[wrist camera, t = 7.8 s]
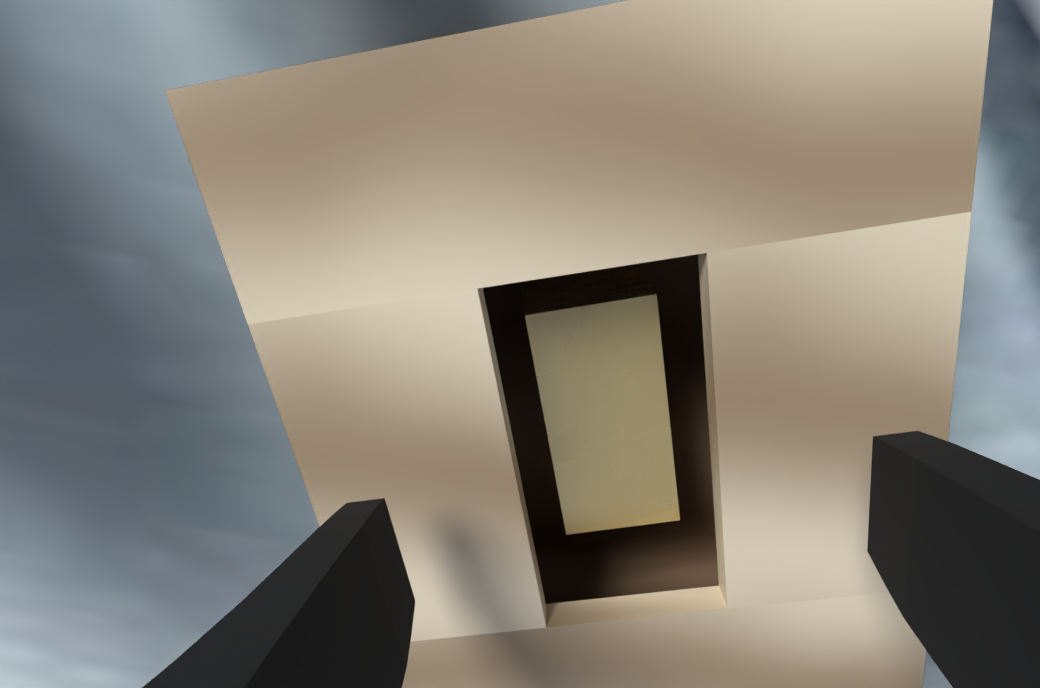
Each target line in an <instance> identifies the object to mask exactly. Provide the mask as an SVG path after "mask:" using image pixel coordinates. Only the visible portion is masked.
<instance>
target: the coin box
mask: <svg viewBox="0 0 1040 688" xmlns="http://www.w3.org/2000/svg"><path fill="white" fill-rule="evenodd" d="M992 6H993V0H627V1H622V2H617V3H612V4H607V5H601V6H596V7H591V8H586V9H581V10H576V11H571V12H566V13H560V14H555V15H550V16H545V17H540V18H535V19H530V20H525V21H519V22H514V23H509V24H504V25H499V26H494V27H489V28H484V29H478V30H473V31H468V32H463V33H458V34H453V35H448V36H442V37H437V38H432V39H427V40H422V41H417V42H412V43H407V44H401V45H396V46H391V47H386V48H381V49H376V50H371V51H366V52H360V53H355V54H350V55H345V56H340V57H335V58H330V59H325V60H319V61H314V62H309V63H304V64H299V65H294V66H289V67H284V68H278V69H273V70H268V71H263V72H258V73H253V74H248V75H243V76H237V77H232V78H227V79H222V80H217V81H212V82H207V83H202V84H196V85H191V86H186V87H181V88H176V89H171V90H166V91H165V93H166V95H167V98H168V101H169V104H170V107H171V109H172V112H173V115H174V118H175V121H176V124H177V126H178V129H179V132H180V135H181V138H182V140H183V143H184V146H185V149H186V152H187V155H188V157H189V160H190V163H191V166H192V169H193V171H194V174H195V177H196V180H197V183H198V186H199V188H200V191H201V194H202V197H203V200H204V202H205V205H206V208H207V211H208V214H209V216H210V219H211V222H212V225H213V228H214V231H215V233H216V236H217V239H218V242H219V245H220V247H221V250H222V253H223V256H224V259H225V262H226V264H227V267H228V270H229V273H230V276H231V278H232V281H233V284H234V287H235V290H236V293H237V295H238V298H239V301H240V304H241V307H242V309H243V312H244V315H245V318H246V321H247V324H248V326H249V329H250V332H251V335H252V338H253V340H254V343H255V346H256V349H257V352H258V354H259V357H260V360H261V363H262V366H263V369H264V371H265V374H266V377H267V380H268V383H269V385H270V388H271V391H272V394H273V397H274V400H275V402H276V405H277V408H278V411H279V414H280V416H281V419H282V422H283V425H284V428H285V431H286V433H287V436H288V439H289V442H290V445H291V447H292V450H293V453H294V456H295V459H296V461H297V464H298V467H299V470H300V473H301V476H302V478H303V481H304V484H305V487H306V490H307V492H308V495H309V498H310V501H311V504H312V507H313V509H314V512H315V515H316V518H317V521H318V523H319V526H321V525H322V524H323V523H324V522H325V521H327V520H328V519H329V518H330V517H331V516H332V515H333V514H334V513H335V512H336V511H338V510H339V509H340V508H341V507H342V506H343V505H345V504H346V503H349V502H357V501H365V500H373V499H381V498H385V501H386V504H387V508H388V511H389V514H390V518H391V521H392V524H393V528H394V531H395V534H396V538H397V541H398V544H399V548H400V551H401V554H402V558H403V561H404V564H405V568H406V571H407V574H408V578H409V581H410V584H411V588H412V591H413V595H414V598H415V609H414V617H413V626H412V634H411V641H410V648H409V655H408V662H407V668H406V672H405V676H404V681H403V685H402V688H923V679H924V670H925V660H926V649H925V648H924V646H923V645H922V643H921V642H920V641H919V639H918V638H917V636H916V635H915V634H914V632H913V631H912V629H911V628H910V626H909V625H908V623H907V622H906V621H905V619H904V618H903V616H902V614H901V612H900V611H899V609H898V607H897V605H896V604H895V602H894V600H893V598H892V597H891V595H890V593H889V591H888V589H887V588H886V586H885V584H884V582H883V580H882V578H881V576H880V574H879V573H878V571H877V569H876V567H875V565H874V563H873V561H872V559H871V557H870V555H869V554H868V552H867V546H868V526H869V505H870V485H871V464H872V443H873V436H880V435H888V434H895V433H903V432H911V431H920V432H923V433H926V434H929V435H932V436H935V437H937V438H940V439H943V440H945V441H948V435H949V426H950V416H951V406H952V396H953V386H954V377H955V367H956V357H957V347H958V338H959V328H960V318H961V308H962V299H963V289H964V279H965V269H966V260H967V250H968V240H969V230H970V220H971V211H972V201H973V191H974V181H975V172H976V162H977V152H978V142H979V133H980V123H981V113H982V103H983V93H984V84H985V74H986V64H987V54H988V45H989V35H990V25H991V15H992ZM632 264H639V266H640V267H641V269H642V271H643V272H644V274H645V276H646V277H647V279H648V281H649V282H650V284H651V286H652V287H653V289H654V291H655V292H656V294H657V302H658V312H659V322H660V331H661V341H662V351H663V360H664V370H665V380H666V389H667V399H668V409H669V418H670V428H671V438H672V447H673V457H674V467H675V476H676V486H677V496H678V505H679V515H680V520H678V521H670V522H663V523H655V524H647V525H639V526H631V527H623V528H615V529H607V530H600V531H592V532H584V533H576V534H568V535H566V531H565V525H564V520H563V515H562V510H561V504H560V499H559V494H558V488H557V483H556V478H555V473H554V467H553V462H552V457H551V451H550V446H549V441H548V435H547V430H546V425H545V420H544V414H543V409H542V404H541V398H540V393H539V388H538V383H537V377H536V372H535V367H534V361H533V356H532V351H531V346H530V340H529V335H528V330H527V324H526V319H525V306H526V291H527V281H529V280H536V279H542V278H549V277H555V276H561V275H568V274H574V273H581V272H587V271H594V270H600V269H606V268H613V267H619V266H626V265H632Z"/></svg>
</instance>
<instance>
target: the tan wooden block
mask: <svg viewBox="0 0 1040 688" xmlns="http://www.w3.org/2000/svg"><path fill="white" fill-rule="evenodd" d="M525 319H526V324H527V330H528V335H529V340H530V346H531V351H532V356H533V361H534V367H535V372H536V377H537V383H538V388H539V393H540V398H541V404H542V409H543V414H544V420H545V425H546V430H547V435H548V441H549V446H550V451H551V457H552V462H553V467H554V473H555V478H556V483H557V488H558V494H559V499H560V504H561V510H562V515H563V520H564V525H565V531H566V535H568V534H576V533H584V532H592V531H600V530H607V529H615V528H623V527H631V526H639V525H647V524H655V523H663V522H670V521H678V520H680V515H679V505H678V496H677V486H676V476H675V467H674V457H673V447H672V438H671V428H670V418H669V409H668V399H667V389H666V380H665V370H664V360H663V351H662V341H661V331H660V322H659V312H658V302H657V294H656V292H655V291H654V289H653V287H652V286H651V284H650V282H649V281H648V279H647V277H646V276H645V274H644V272H643V271H642V269H641V267H640V266H639V264H632V265H626V266H619V267H613V268H606V269H600V270H594V271H587V272H581V273H574V274H568V275H561V276H555V277H549V278H542V279H536V280H529V281H527V291H526V306H525Z"/></svg>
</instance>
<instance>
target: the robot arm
mask: <svg viewBox="0 0 1040 688" xmlns="http://www.w3.org/2000/svg"><path fill="white" fill-rule="evenodd" d="M867 552H868V554H869V555H870V557H871V559H872V561H873V563H874V565H875V567H876V569H877V571H878V573H879V574H880V576H881V578H882V580H883V582H884V584H885V586H886V588H887V589H888V591H889V593H890V595H891V597H892V598H893V600H894V602H895V604H896V605H897V607H898V609H899V611H900V612H901V614H902V616H903V618H904V619H905V621H906V622H907V623H908V625H909V626H910V628H911V629H912V631H913V632H914V634H915V635H916V636H917V638H918V639H919V641H920V642H921V643H922V645H923V646H924V648H925V649H926V650H927V652H928V653H929V655H930V656H931V658H932V659H933V660H934V662H935V663H936V665H937V666H938V667H939V669H940V670H941V672H942V673H943V674H944V676H945V677H946V679H947V680H948V681H949V683H950V684H951V685H952V687H953V688H1040V480H1038V479H1036V478H1034V477H1031V476H1029V475H1027V474H1024V473H1022V472H1020V471H1017V470H1015V469H1013V468H1010V467H1008V466H1006V465H1003V464H1001V463H999V462H996V461H994V460H991V459H989V458H987V457H984V456H982V455H980V454H977V453H975V452H972V451H970V450H968V449H965V448H963V447H960V446H958V445H955V444H953V443H950V442H948V441H945V440H943V439H940V438H937V437H935V436H932V435H929V434H926V433H923V432H920V431H911V432H903V433H895V434H888V435H880V436H873V443H872V464H871V485H870V505H869V526H868V546H867ZM414 609H415V598H414V595H413V591H412V588H411V584H410V581H409V578H408V574H407V571H406V568H405V564H404V561H403V558H402V554H401V551H400V548H399V544H398V541H397V538H396V534H395V531H394V528H393V524H392V521H391V518H390V514H389V511H388V508H387V504H386V501H385V498H381V499H373V500H365V501H357V502H349V503H346V504H345V505H343V506H342V507H341V508H340V509H339V510H338V511H336V512H335V513H334V514H333V515H332V516H331V517H330V518H329V519H328V520H327V521H325V522H324V523H323V524H322V525H321V526H320V527H319V528H318V529H317V530H316V531H315V532H314V533H313V534H312V535H311V536H310V537H309V538H308V539H307V540H306V541H304V542H303V543H302V544H301V545H300V546H299V547H298V548H297V549H296V550H295V551H294V552H293V553H292V554H291V555H290V556H289V557H288V558H287V559H286V560H285V561H284V562H283V563H282V564H281V565H280V566H279V567H277V568H276V569H275V570H274V571H273V572H272V573H271V574H270V575H269V576H268V577H267V578H266V579H265V580H264V581H263V582H262V583H261V584H260V585H259V586H258V587H256V588H255V589H254V590H253V591H252V592H251V593H250V594H249V595H248V596H247V597H246V598H245V599H244V600H243V601H242V602H241V603H239V604H238V605H237V606H236V607H235V608H234V609H233V610H232V611H230V612H229V613H228V614H227V615H226V616H225V617H224V618H223V619H221V620H220V621H219V622H218V623H217V624H216V625H215V626H213V627H212V628H211V629H210V630H209V631H208V632H207V633H206V634H204V635H203V636H202V637H201V638H200V639H199V640H198V641H197V642H195V643H194V644H193V645H192V646H191V647H190V648H189V649H188V650H186V651H185V652H184V653H183V654H182V655H181V656H180V657H179V658H177V659H176V660H175V661H174V662H173V663H172V664H170V665H169V666H168V667H167V668H166V669H164V670H163V671H162V672H161V673H160V674H158V675H157V676H156V677H155V678H153V679H152V680H151V681H150V682H149V683H147V684H146V685H145V686H144V687H142V688H402V685H403V681H404V676H405V672H406V668H407V662H408V655H409V648H410V641H411V634H412V626H413V617H414Z"/></svg>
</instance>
